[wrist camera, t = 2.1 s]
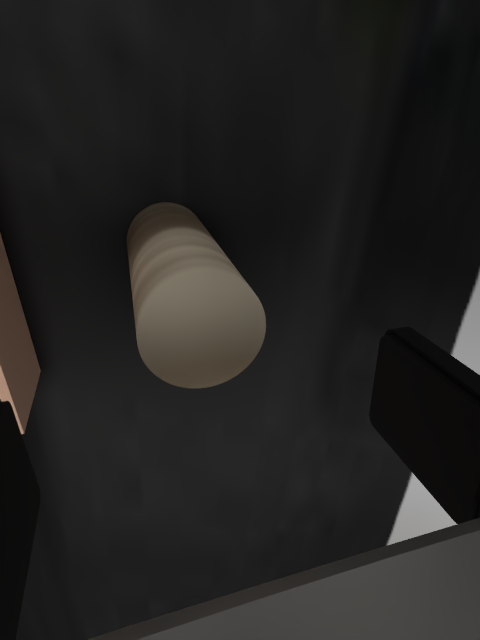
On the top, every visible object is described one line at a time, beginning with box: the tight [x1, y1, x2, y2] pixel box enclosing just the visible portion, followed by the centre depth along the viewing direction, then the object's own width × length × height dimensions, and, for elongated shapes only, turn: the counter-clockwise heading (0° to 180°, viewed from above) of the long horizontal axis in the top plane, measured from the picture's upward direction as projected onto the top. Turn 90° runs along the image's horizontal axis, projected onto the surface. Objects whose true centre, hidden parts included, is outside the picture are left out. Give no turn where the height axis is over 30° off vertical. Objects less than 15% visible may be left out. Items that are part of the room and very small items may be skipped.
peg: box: [127, 202, 266, 388], centre depth 17 cm, size 4×4×10 cm
